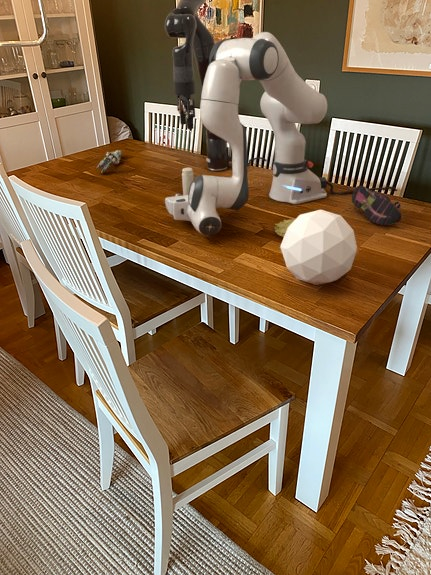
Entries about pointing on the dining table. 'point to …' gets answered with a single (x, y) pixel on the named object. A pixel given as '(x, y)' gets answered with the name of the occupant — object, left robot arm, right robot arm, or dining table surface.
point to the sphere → (319, 247)
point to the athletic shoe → (376, 206)
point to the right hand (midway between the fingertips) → (190, 194)
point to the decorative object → (283, 227)
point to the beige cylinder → (187, 179)
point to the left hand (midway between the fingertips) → (186, 126)
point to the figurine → (110, 160)
